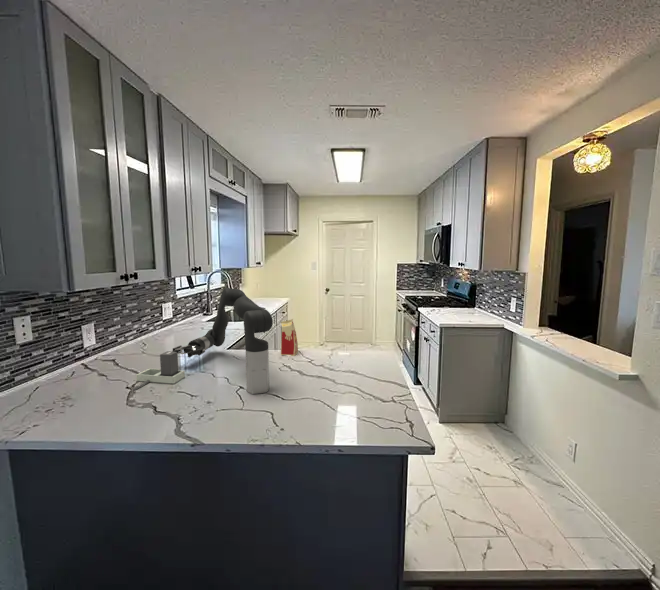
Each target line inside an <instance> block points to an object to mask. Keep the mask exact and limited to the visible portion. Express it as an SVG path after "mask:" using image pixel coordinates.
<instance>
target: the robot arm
mask: <svg viewBox="0 0 660 590" xmlns="http://www.w3.org/2000/svg"><path fill="white" fill-rule="evenodd" d="M226 307H232V308H233V311H234V313H235V314H236V316H238V317H239V318H240V319H242V320H243V329H244V330H243V332H244V344H245V346H244V347H245V349H244V350H245V378H246V379H245V380H246V384H245V385H246V392H247V393H249V394H251V395H257V394H262V393H268V391H269V390H270V367H269V366H270V362H269V361H270V358H269V357H270V356H269V352H270V351H269V342H268V341H267V340H265V339H261V338H258V337H255V334H258V333H259V334H260V333H267V332H269V331H270V330H271V329H272V328H273V325H274V324H273V323H274V321H273V317H272V314H271V313H270V311H268V309H266V308H263V307H261V306H259V305H258V304H257V303H255V302H254V301H253V300H252V299H250V298H249V297H248V296H247V295H246V294H245V292H244V291H243V290H241V289H239V288H232V287H231V288H230V287H225V288H223V290H222V291H221V294H220V297H219V302H218V307H217V312H216V316H215V320H214V322H213V324H212V328H211V329H209V330H208V331H207V332H206V333H205V335H203V336H201V337H197V338H194V339H192V340H190V341H189V342H188V343H187V345H185V346H182V345H178V346H175V347H173V348H172V351H171V352H177V353H178V355H186V354H187V358H191V357H193V356H201V355H202V354H204V353H205V352H206V351H207V350H208V349H210V348H211V347H213V346H215V347H221V346H223V344H224V343H225V340H226V330H227V327H228V324H229V321H230V320H229V316H228V314H227V311H226Z"/></svg>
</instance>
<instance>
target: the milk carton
mask: <svg viewBox="0 0 660 590" xmlns="http://www.w3.org/2000/svg"><path fill="white" fill-rule="evenodd" d="M280 324H281V342H280V343H281V345H280V347H281V348H280V356H281V355H291V356H290V357H295V356H296V355H297V354H298V353H299V344H298V337H297V331H296V328H295V324H294V318H292V319H288V320H284V321H280Z"/></svg>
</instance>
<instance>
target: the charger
mask: <svg viewBox="0 0 660 590" xmlns="http://www.w3.org/2000/svg"><path fill="white" fill-rule="evenodd" d="M178 357H179V354H178V353H177V352H172V351H168V350H167V351H165V352H163V353H160V354H159V360H160V361H159V362H160V369H161V376H171V377H172V376H174V375H176V374H178V371H179V358H178Z"/></svg>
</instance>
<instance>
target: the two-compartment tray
mask: <svg viewBox="0 0 660 590" xmlns="http://www.w3.org/2000/svg"><path fill="white" fill-rule="evenodd" d="M185 375H186V373H185V370H178V374H176V375H174V376H172V377H171V376H161V368H160V369H159V368H147V369H145V370H143V371H141V372H139V373H137V374H136V375H135V376H136V382H139V383H140V384H137V385H136V386H135V387H133V388H132V390H133V391H136V390H138V389H140V388H142V387H143V386H146V385H147V384H150V383H151V384H165V385H166V384H167V385H175V384H177V383H178V382H180V381H182V380H183V379H185V378H186V376H185Z"/></svg>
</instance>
